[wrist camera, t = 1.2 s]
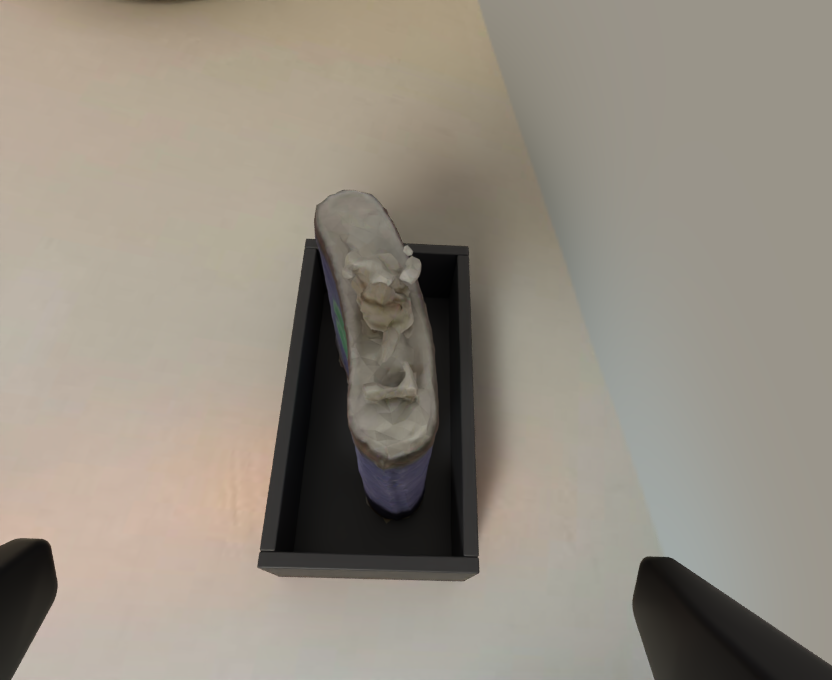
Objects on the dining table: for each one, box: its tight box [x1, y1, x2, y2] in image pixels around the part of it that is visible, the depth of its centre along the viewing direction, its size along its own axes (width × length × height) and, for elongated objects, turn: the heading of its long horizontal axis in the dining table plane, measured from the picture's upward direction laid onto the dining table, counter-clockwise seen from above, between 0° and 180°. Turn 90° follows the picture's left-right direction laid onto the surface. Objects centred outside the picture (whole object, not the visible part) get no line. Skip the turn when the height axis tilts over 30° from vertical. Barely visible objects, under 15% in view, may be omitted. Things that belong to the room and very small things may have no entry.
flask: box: [314, 190, 439, 524], centre depth 18 cm, size 9×3×11 cm, turn 13°
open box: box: [258, 239, 479, 581], centre depth 21 cm, size 13×7×4 cm, turn 179°
